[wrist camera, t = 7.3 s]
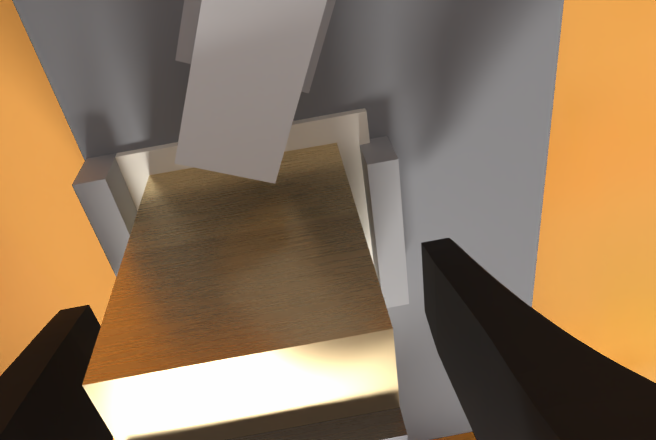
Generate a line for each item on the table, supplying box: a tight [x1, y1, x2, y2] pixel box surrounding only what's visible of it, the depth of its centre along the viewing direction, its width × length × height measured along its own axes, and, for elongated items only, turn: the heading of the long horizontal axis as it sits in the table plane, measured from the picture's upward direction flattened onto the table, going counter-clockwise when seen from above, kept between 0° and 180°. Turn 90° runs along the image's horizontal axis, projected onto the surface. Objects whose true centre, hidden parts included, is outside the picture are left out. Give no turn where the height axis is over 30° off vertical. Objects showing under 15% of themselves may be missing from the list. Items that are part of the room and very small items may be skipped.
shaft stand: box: [12, 0, 564, 440], centre depth 14 cm, size 19×11×4 cm, turn 8°
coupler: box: [82, 143, 408, 440], centre depth 11 cm, size 4×4×6 cm
